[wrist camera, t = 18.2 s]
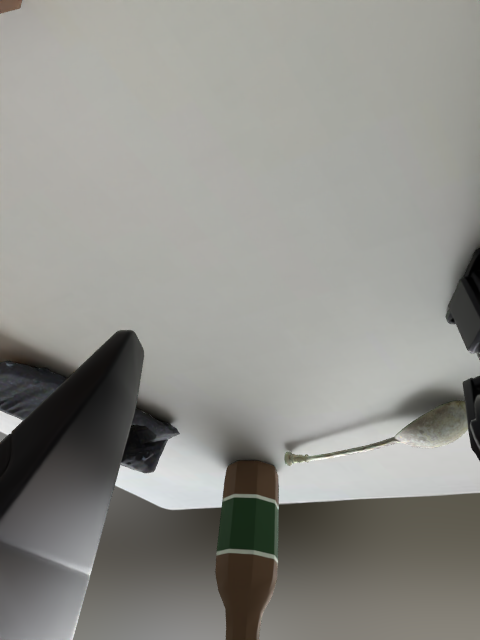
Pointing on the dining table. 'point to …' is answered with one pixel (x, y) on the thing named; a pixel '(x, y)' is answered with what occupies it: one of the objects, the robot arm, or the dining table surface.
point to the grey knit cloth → (38, 384)
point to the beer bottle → (247, 546)
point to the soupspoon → (413, 433)
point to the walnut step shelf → (9, 5)
